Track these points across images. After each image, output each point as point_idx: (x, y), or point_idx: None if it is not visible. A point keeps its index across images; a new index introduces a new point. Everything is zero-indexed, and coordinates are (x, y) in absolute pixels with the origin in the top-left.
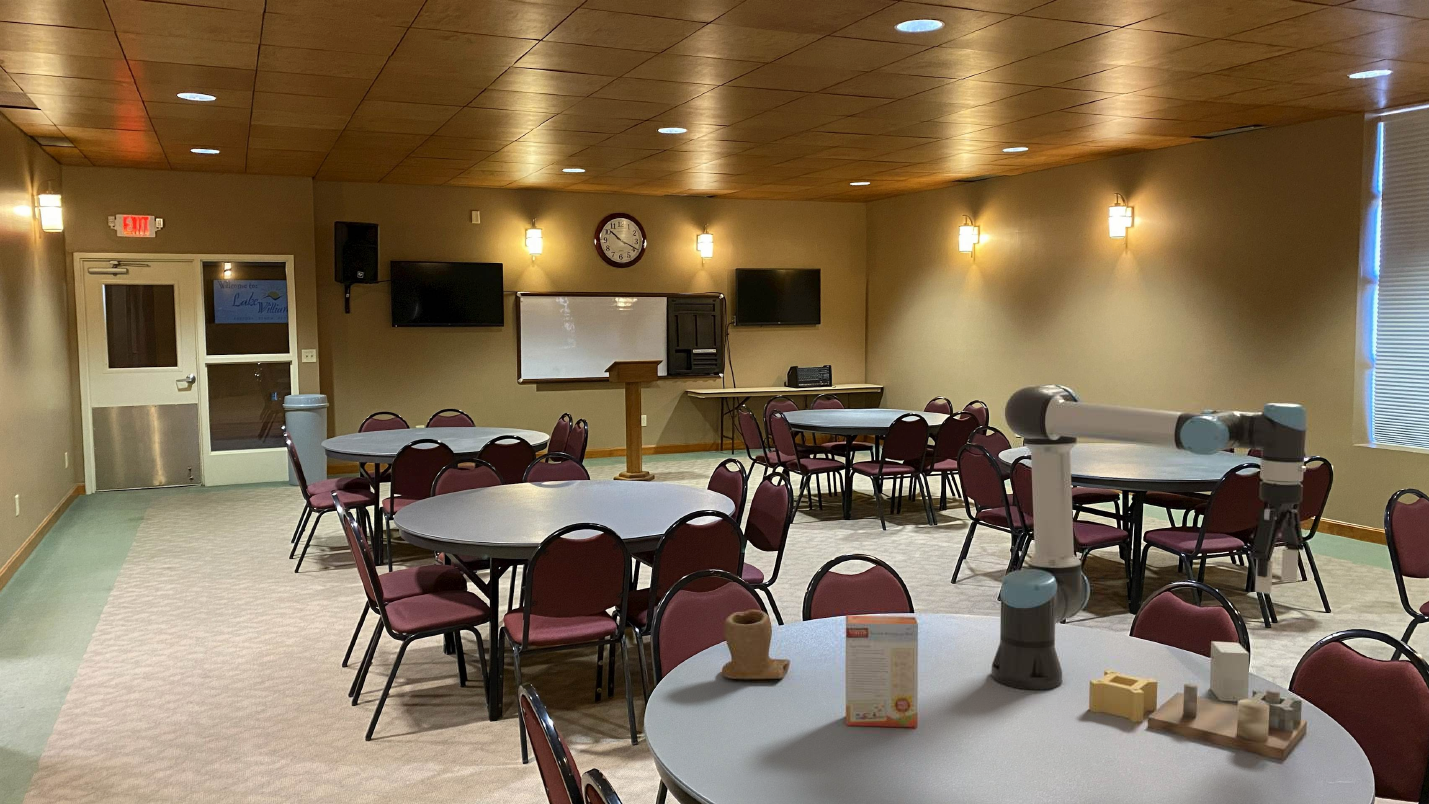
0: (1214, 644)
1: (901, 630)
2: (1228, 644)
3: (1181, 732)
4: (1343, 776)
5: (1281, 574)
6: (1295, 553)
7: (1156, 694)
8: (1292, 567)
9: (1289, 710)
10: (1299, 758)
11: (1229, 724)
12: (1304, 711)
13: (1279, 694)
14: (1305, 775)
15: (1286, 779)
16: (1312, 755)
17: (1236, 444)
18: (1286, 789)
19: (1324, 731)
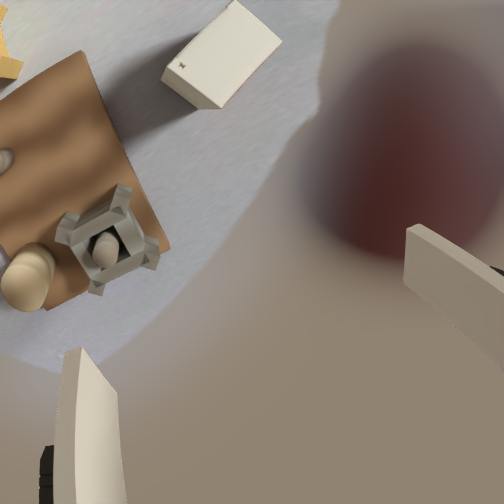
0: (218, 15)
1: None
2: (245, 37)
3: None
4: (86, 352)
5: (425, 241)
6: (500, 359)
7: (4, 77)
8: (450, 307)
9: (94, 293)
10: (73, 305)
11: (35, 214)
12: (248, 182)
13: (109, 266)
14: (46, 337)
15: (19, 336)
16: (98, 305)
17: None
18: (6, 349)
19: (193, 253)
